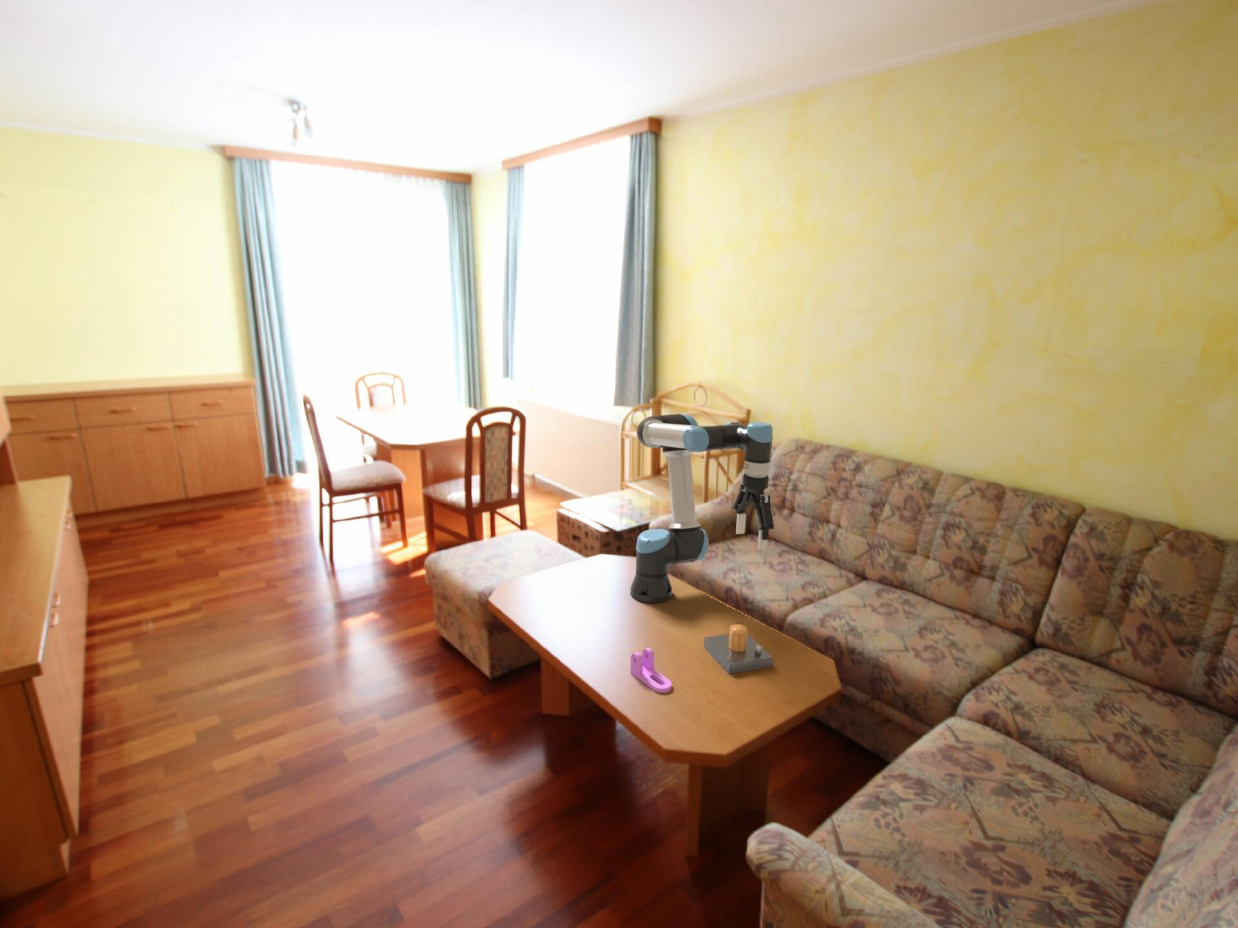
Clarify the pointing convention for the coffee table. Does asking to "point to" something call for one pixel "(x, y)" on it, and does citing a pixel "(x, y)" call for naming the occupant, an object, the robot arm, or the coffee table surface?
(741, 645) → the orange faceted knob
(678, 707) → the coffee table surface
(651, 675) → the bracket
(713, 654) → the block
